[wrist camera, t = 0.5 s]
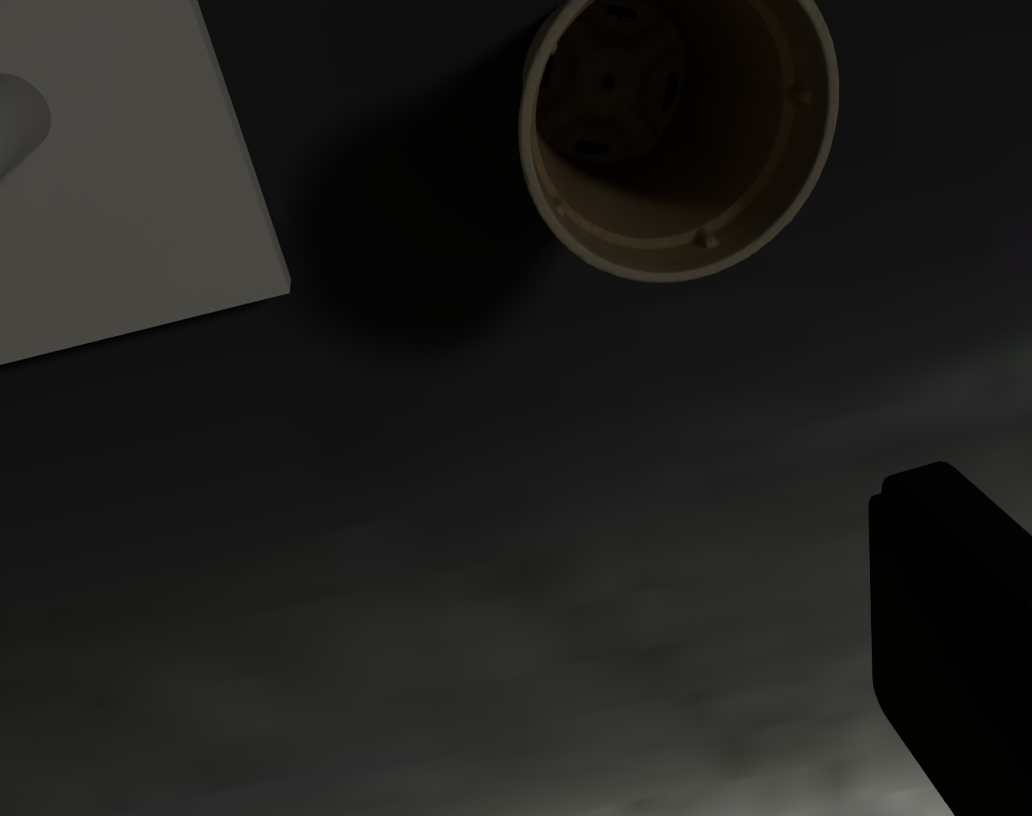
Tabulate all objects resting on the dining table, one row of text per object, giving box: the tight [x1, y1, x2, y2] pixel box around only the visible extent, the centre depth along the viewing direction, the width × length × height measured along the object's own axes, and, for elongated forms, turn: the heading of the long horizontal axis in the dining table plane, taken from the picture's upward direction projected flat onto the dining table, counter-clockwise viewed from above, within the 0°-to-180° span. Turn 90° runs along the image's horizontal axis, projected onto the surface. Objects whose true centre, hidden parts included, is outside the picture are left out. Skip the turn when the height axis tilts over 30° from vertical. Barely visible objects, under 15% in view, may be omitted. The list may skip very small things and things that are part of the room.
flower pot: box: [518, 0, 839, 283], centre depth 30 cm, size 9×9×9 cm
